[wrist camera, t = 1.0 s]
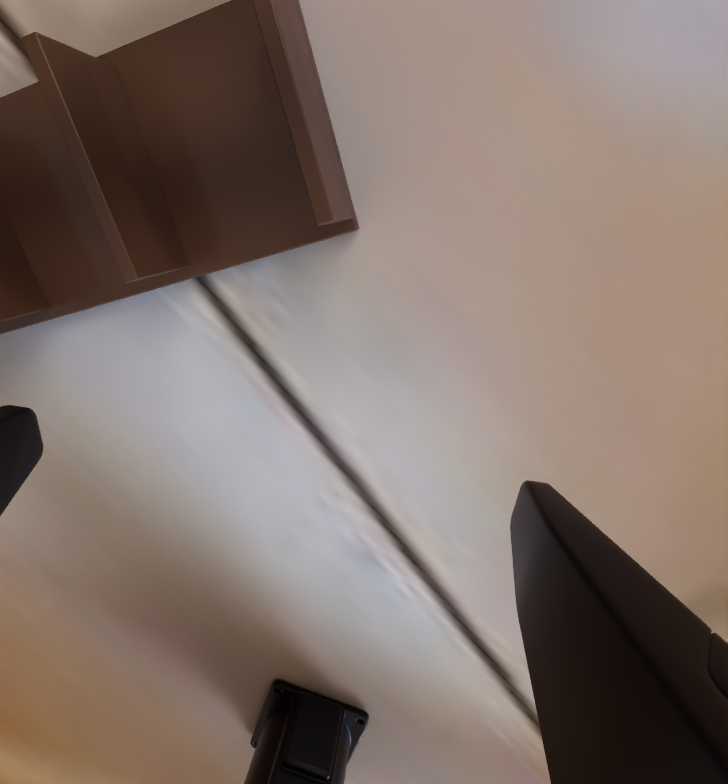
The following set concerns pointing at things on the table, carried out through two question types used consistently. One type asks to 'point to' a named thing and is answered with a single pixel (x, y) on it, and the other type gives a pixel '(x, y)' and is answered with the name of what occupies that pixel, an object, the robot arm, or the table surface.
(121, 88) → the rack
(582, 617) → the robot arm
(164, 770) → the table surface
